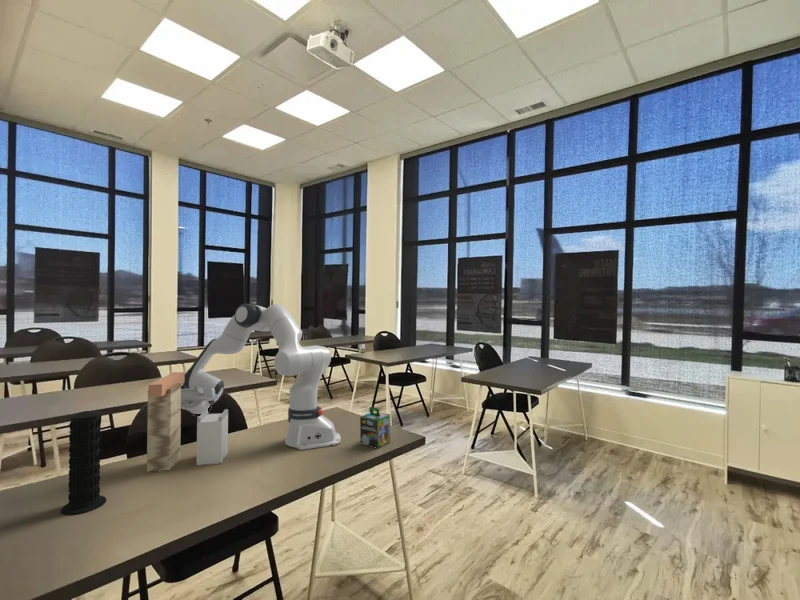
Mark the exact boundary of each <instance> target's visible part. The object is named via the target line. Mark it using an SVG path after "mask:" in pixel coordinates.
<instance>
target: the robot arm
mask: <svg viewBox="0 0 800 600" xmlns="http://www.w3.org/2000/svg"><path fill="white" fill-rule="evenodd" d="M253 331H255V332H256V331H257V332H264V333H271V335H272V336H273V338H274V340H275V341H276V344H277V346H278V352H277V353H276V355H275V357H274V360H273V366H274V368H275V370H276V372H277V373H278V374H279V375H281V376H288V377H289V376H290V377H292V376H298V378H297V379H296V381H295V382H294V383H293V384H292V385H291V387H290V388H289V389H290V390H289V407H288V410H287V422H288V425H287V426H288V427H287V433H286V437H285V440H284V444H285V445H286V446H288V447H291V448H292V447H293V448H296V449H298V450H300V451H301V450H309V449H310V450H311V449H316V448H324V447H330V445H333V446H337V445H339V444H340V443H341V442H342V437H341V435H340V433H338V432H337V431H336V427H335V425H334V423H333V421H331V420H330V419H329V418H327V417H326V416H324V415H323V414H324V411H323V408H322V407H321V406H319V405H318V391H319V390H318V388H319V384H320V381H321V378H322V375H323V374H324V372H325V371H326V369H327V368H328V367H329V366H330V364H331V361H332V355H331V352H330V350H329V348H327V347H326V346H322V345H316V344H315V345H309V346H307V345H306V346H302V344H300V342H301V340H302V337H303V331H302V329H301V327H300V326H299V324H298V323H297V322H296V320H295V318H294V317H293V315H292V314H291V313H290V311H289V310H287V308H286V307H285V306H284V305H282V304H279V303H274V304H271V305H269V306H268V307H264V306H262V305H261V306H260V305H256V304H253V303H242V304H240V305H239V306H238V307H237V308H236V310H235V312H234V315H233V316H232V317H231V318H230V320H229V321H228V323H226V326H225V328H224V330H223V332H222V333H221V335H220V336H219V337H218V338H213V339H212V340H210V341H209V342H208V343H207V344H206V346H204V348H203V350H202V351H201V352H200V354H199V355H198V357H197V358H196V360H195V361H194V362H193V364H192V365H191V366H190V367H189V369H187V370H186V372H185V381H184V383H183V384H182V387H183V388H181V410H186V411H188V412H189V411H190V412H191V413H193V414H202V413H203V412H204V411H205V410H208V408H209V407H210V405H214V404H215V403H217V402H218V401H219V399H221V397H222V395H223V394H224V392H225V382H224V380H222V379H221V378H218V377H217V376H214V375H212V374H210V373H208V372H206V371H205V366H206V365H207V364H208V363H209V361H210V360H211V359H212V357H213V356H214V355H216V354H221V355H234V354H237V353H240V352H241V351H242V350H243V349H244V347H245V346H246V344H247V342H248V340H249V337H250V335H251V334H252V332H253ZM190 412H189V413H190ZM191 413H190V414H191ZM193 414H192V415H193ZM339 442H340V443H339ZM338 443H339V444H338ZM336 444H337V445H336Z"/></svg>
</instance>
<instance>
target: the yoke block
mask: <svg viewBox="0 0 800 600" xmlns="http://www.w3.org/2000/svg"><path fill="white" fill-rule="evenodd" d="M196 419H197V420H196V423H197V424H196V466H204V465H203V464H207V465H216V464H217V465H219V464H218V463H221V464H222V463H223V462H224V460H223V459H225V458H226V456H227V455H226V454H228V453H227V452H228V449H229V448H228V447H229V440H228V439H229V438H228V437H229V436H228V435H229V434H228V433H229V409H228V408H224V410H223V411H222V413H209V412H208V410H205V411H204V412H203V413H202V414H201V415H200V416H197V418H196Z"/></svg>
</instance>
